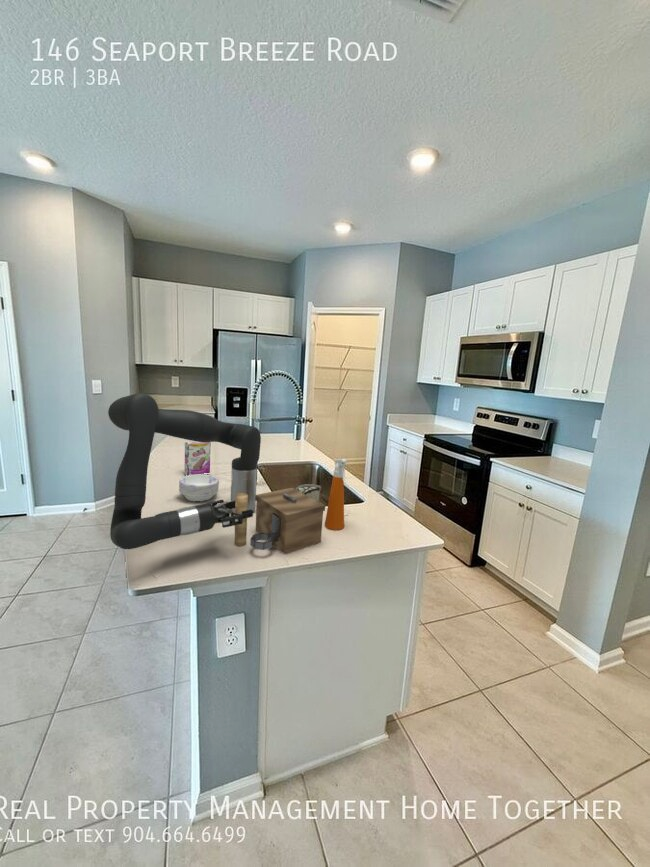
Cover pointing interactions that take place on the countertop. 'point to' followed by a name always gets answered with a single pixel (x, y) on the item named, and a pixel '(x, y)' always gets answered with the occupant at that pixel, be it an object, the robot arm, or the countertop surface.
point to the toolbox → (290, 518)
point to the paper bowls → (198, 487)
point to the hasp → (267, 535)
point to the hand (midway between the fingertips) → (245, 507)
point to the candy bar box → (197, 458)
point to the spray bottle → (336, 498)
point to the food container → (310, 490)
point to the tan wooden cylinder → (242, 528)
